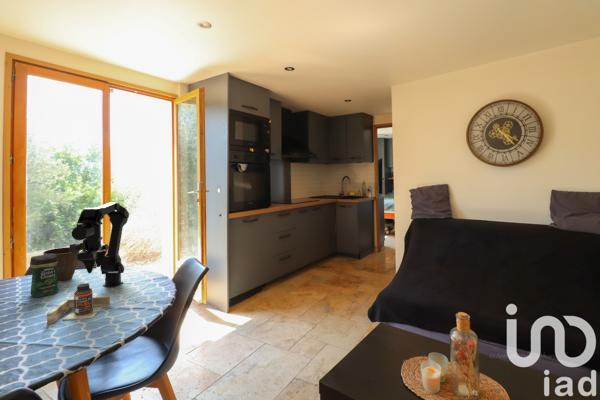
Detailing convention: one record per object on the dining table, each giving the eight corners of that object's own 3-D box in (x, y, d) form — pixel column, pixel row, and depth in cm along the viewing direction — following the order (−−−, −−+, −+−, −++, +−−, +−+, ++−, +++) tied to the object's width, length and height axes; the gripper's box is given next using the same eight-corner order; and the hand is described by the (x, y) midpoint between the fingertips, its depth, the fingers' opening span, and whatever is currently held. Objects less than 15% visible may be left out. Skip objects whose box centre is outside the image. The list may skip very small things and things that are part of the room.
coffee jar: (34, 299, 129) (32, 258, 127) (28, 295, 133) (26, 255, 132) (61, 292, 137) (59, 254, 135) (55, 289, 141) (53, 251, 140)
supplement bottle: (77, 317, 112) (76, 288, 111) (72, 312, 116) (71, 285, 115) (95, 311, 117) (94, 284, 116) (89, 307, 120) (89, 281, 120)
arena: (66, 308, 120) (66, 299, 120) (110, 304, 125) (109, 295, 124) (47, 324, 107) (46, 313, 107) (96, 319, 111) (96, 309, 111)
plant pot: (85, 278, 156) (84, 249, 155) (50, 287, 143) (49, 255, 142) (73, 273, 164) (73, 246, 163) (39, 281, 151) (38, 251, 150)
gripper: (81, 232, 136) (82, 265, 137) (60, 240, 118) (62, 278, 119) (108, 232, 139) (109, 263, 140) (92, 239, 121) (93, 276, 122)
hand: (94, 269), depth 130 cm, fingers open, 9 cm apart
